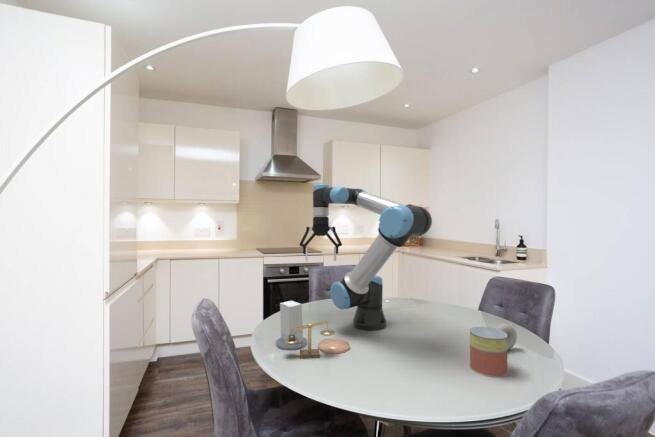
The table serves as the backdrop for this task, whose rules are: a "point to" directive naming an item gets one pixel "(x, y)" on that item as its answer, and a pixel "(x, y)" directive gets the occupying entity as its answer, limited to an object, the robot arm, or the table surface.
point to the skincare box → (291, 319)
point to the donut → (511, 334)
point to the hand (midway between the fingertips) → (320, 261)
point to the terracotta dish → (333, 346)
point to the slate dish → (284, 346)
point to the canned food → (488, 351)
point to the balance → (308, 352)
